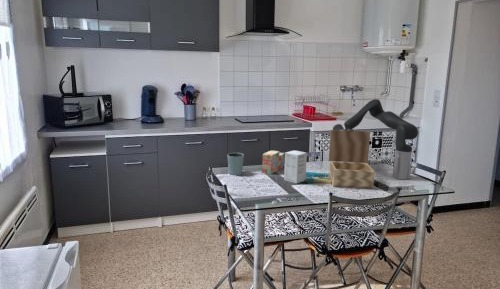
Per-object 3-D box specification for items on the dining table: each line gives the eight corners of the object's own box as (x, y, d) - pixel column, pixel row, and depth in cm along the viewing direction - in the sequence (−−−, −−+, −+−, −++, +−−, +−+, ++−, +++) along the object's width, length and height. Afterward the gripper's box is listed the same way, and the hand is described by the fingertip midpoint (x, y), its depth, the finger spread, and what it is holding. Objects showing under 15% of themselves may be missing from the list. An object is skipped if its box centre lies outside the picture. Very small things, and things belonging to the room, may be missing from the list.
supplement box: (306, 180, 223) (307, 152, 219) (296, 183, 216) (298, 155, 213) (292, 176, 229) (294, 149, 226) (283, 180, 223) (284, 152, 219)
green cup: (244, 171, 237) (244, 153, 234) (242, 176, 227) (242, 157, 225) (228, 170, 238) (228, 152, 235) (225, 175, 228) (226, 156, 226)
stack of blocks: (275, 165, 254) (276, 147, 252) (284, 166, 252) (285, 148, 249) (261, 173, 236) (262, 153, 233) (270, 174, 233) (271, 155, 230)
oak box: (365, 179, 229) (366, 163, 227) (372, 188, 211) (374, 171, 209) (328, 177, 230) (329, 161, 228) (333, 186, 213) (334, 169, 211)
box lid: (368, 163, 226) (367, 162, 229) (370, 130, 223) (369, 130, 226) (329, 161, 227) (328, 160, 230) (331, 128, 225) (330, 128, 228)
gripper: (353, 141, 245) (358, 147, 228) (332, 141, 246) (336, 146, 229) (354, 130, 244) (359, 135, 227) (333, 129, 245) (337, 134, 228)
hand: (347, 140), depth 228 cm, fingers closed
